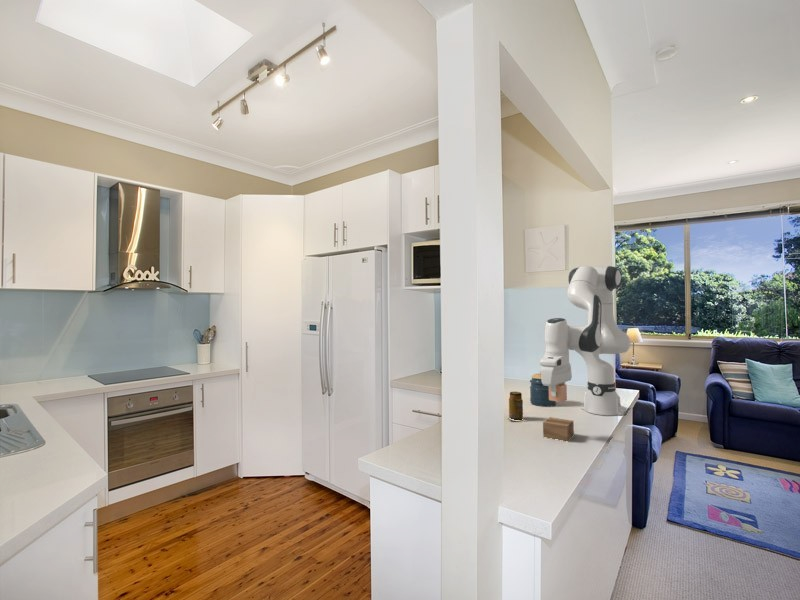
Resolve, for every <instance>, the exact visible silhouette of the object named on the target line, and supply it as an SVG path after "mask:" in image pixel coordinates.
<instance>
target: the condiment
mask: <svg viewBox="0 0 800 600" xmlns="http://www.w3.org/2000/svg"><path fill="white" fill-rule="evenodd" d="M522 394H523V393H522V392H521V391H510V392H509V399H508V413H509V415H508V416H509V418H511V419H514V420H522V419H523V418H524V408H523V405H524V403H523V402H524V401H523V400H524V399H523V398H522V397H523V396H522ZM522 422H527V420H526V419H525V418H524V419H523V420H522V421H520V422H519V423H522Z"/></svg>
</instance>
